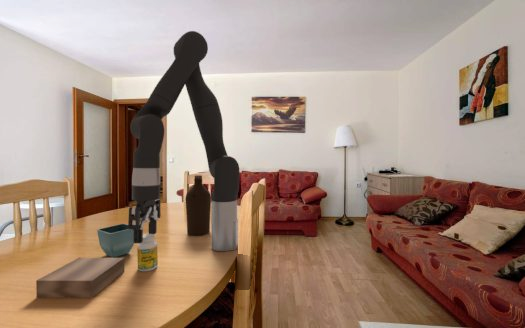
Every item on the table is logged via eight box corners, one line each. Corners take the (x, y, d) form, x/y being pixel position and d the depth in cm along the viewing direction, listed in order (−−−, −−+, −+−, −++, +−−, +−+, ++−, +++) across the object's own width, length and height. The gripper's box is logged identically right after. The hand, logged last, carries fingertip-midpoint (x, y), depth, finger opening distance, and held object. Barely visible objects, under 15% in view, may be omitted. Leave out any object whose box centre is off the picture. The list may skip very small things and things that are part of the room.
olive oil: (213, 234, 103) (213, 175, 102) (187, 238, 99) (186, 176, 98) (208, 228, 113) (208, 174, 112) (184, 230, 108) (184, 175, 108)
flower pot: (110, 262, 76) (110, 233, 76) (96, 256, 81) (96, 229, 80) (137, 252, 83) (137, 226, 83) (123, 247, 88) (123, 223, 88)
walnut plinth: (124, 271, 69) (124, 257, 69) (92, 297, 56) (92, 280, 56) (79, 271, 69) (78, 257, 69) (36, 297, 56) (36, 280, 56)
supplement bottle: (155, 262, 76) (155, 231, 75) (159, 269, 71) (158, 236, 71) (136, 266, 73) (136, 234, 72) (138, 273, 68) (138, 239, 68)
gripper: (147, 186, 64) (146, 247, 65) (168, 181, 79) (168, 231, 79) (119, 185, 64) (118, 246, 65) (145, 181, 79) (145, 230, 79)
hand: (145, 238), depth 72 cm, fingers open, 8 cm apart
